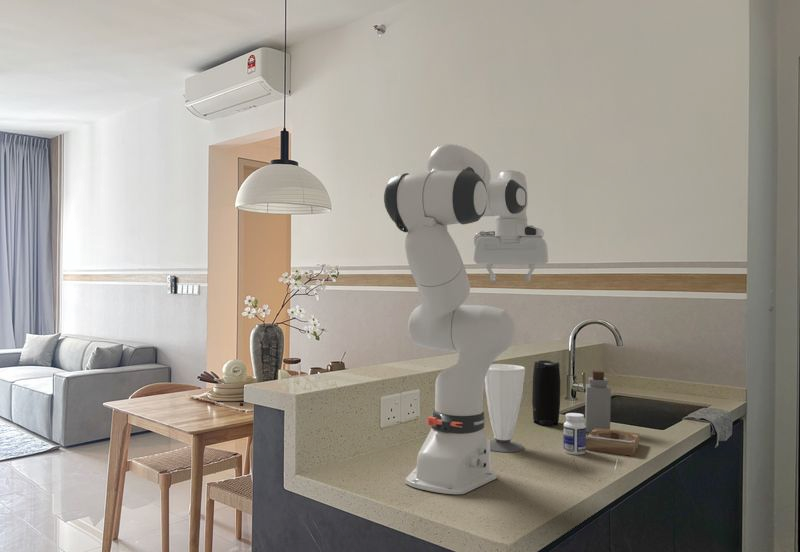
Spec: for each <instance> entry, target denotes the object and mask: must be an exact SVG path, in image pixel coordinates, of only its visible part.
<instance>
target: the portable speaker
mask: <svg viewBox="0 0 800 552" xmlns="http://www.w3.org/2000/svg"><path fill="white" fill-rule="evenodd" d="M531 393H532V394H531V395H532V399H531V403H532V404H531V405H532V406H531V407H532V419H533V423H538V424H539V425H540V426H545V427H546V426H547V427H552V426H553V425H554V424H557V425H559V420H560V409H561V371H560V362H558V361H557V362H553V361H551V360H545V359H544V360H538V361H534V365H533V373H532V392H531Z"/></svg>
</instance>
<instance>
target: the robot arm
mask: <svg viewBox="0 0 800 552" xmlns="http://www.w3.org/2000/svg"><path fill="white" fill-rule="evenodd" d="M426 166H427V167H426V169H427V170H426V171H422V172H414V173H407V172H406V173H402V174H397V175H395V176H393V177H391V178H390V179H389V181H388V182H387V184H386V186H385V188H384V194H383V202H384V207H385V210H386V212H387V213H388V214H387V215H389V218H390V219H391V221H392V222H394V223H395V226H396V228H398V230H399V231H401V232H403V233H406V234H407V235H406V237H405V241H404V249H405V253H406V254H405V255H406V259H407V262H408V266H409V269H410V272H411V275H412V277H413V278H412V279H413V280H414V282H415V283H414V284H415V285H416V287H417V291H418V293H419V296H420V299H421V301H420V305H417V306H416V307H415V308H414V309H413V310H412V311H411V313H410V315H409V317H408V321H407V332H408V335H409V338H410V340H411V341H412V342H413V344H414V345H416V346H418V347H419V346H420V347H423V348H426V349H429V350H433V351H434V350H435V351H446V352H447V351H448V352H458V360H457V362H456V364H453V365H451V366H449V367H447V368H445V369H444V370H443V369H442V371H441V372H440V373H439V374H438V375H437V377H436V379H435V388H434V389H435V391H434V392H435V396H434V404H435V405H434V409H433V412H432V415H431V416H428V417H427V421H426V424H427V426H430V427H431V428H430V431H429V433H428V435H427V436H426V438H425V440H424V442H423V444H422V445H421V448H420V450H419V452H418V453H417V458H416V467H414V469H413V470H412V471H411V472H410V473H409V474H408V475H407V476H406V478H405V481H404V482H405V484H406V485H407V486H410V487H412V488H416V489H419V490H422V491H423V490H424V491H428V492H432V493H433V492H434V493H439V494H446V495H464V494H466V493H469V492H470V491H473V490H475V489H477V488H480V487H481V486H483V485H486V484H488V483H489V482H492V481H494V480H496V479H497V478H498V476H497V475H498V473H497V472H496V471H493V470H492V462H491V461H492V460H491V458H492V457H491V451H490V441H491V440H490V439H489V438H488V435H486V434H485V431H484V428H485V421H486V418H485V411H483V408H484V407H483V406H484V405H483V403H484V400H483V399H484V390H485V377H486V374H487V371H488V369H489V367H490V365H491V364H493V362H494V361H495V360H496V359H497V358H498V357H499V356H500V355H501V354H503V353H505V352H506V351H507V350H508V349H509V348H510V347H511V345H512V343H513V342H514V340H515V337H516V336H515V335H516V324H515V321H514V318H513V316H512V315H511V314H510V312H509V311H508V310H506V309H503V308H499V307H496V306H495V307H494V306H491V305H484V304H483V305H482V304H464V303H465V302H466V301H467V298H468V297H469V294H470V291H471V282H470V280H469V277H468V274H467V270H466V268H465V265H464V262H463V259H462V256H461V253H460V251H459V249H458V247H457V244H456V243H455V240H454V239H453V237H452V236H451V234H450V233H449V231H448V226H450V225H456V224H460V225H469V224H473V223H477V222H478V221H480V219H481V218H482V217H495V218H494V230H493V231H492V230H491V231H490V230H489V231H483V230H482V231H479V232H478V233H475V235H474V238H473V244H474V246H475V247H474V252H473V253H474V254H473V261H474V263H475V264H478V265H486V266H485V267H486V270H487V272H488V274H490V275H489V281H494V282H495V281H497V274H496V273H495V274H494V272H493V270H492V269H493V267H494V265H528V269H529V270H528V272H527V274H523V276H524V277H523V278H524V279H523V281H524V282H531V277H532V276H531V275H532V273H533V272H534V271H535V268H536V267H535V266H536V265H546V264H547V263H548V261H549V251H548V245H547V242H546V240H545V239H544V234H545V232H544V230H543V229H541V228H539V227H536V226H534V225H529V224H528V216H527V207H528V202H529V201H528V195H529V194H528V185H527V178H526V175H525V174H524V173H522V172H520V171H517V170H505V171H501V172H500V173H499V174H498V176H497V179H491V178H492V177H491V174H492V173H491V169H490V167H489V164H488V163H487V162H486V160H485V159H484V158H483V157H482V156H480V155H479V154H478V153H476V152H475V151H472V150H470V149H469V148H467V147H465V146H462V145H458V144H454V143H445V144H442V145H439V146H438V147H436V148H434V150H433V151H432V152H431V154H430V156H429V157H428V159H427V164H426Z"/></svg>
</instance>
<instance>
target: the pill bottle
mask: <svg viewBox="0 0 800 552" xmlns="http://www.w3.org/2000/svg"><path fill="white" fill-rule="evenodd" d="M565 420H566V421H565V422H564V423H563V436H562V438H563V444H562V445H563V446H562V448H563V452H564V453H566V454H569V455H573V456H574V455H576V456H577V455H580V456H581V455H585V454H586V451H587V450H586V437H587V432H586V425H585V422H584V421H585V414H583V413H578V412H568V413H565Z"/></svg>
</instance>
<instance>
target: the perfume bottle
mask: <svg viewBox="0 0 800 552" xmlns="http://www.w3.org/2000/svg"><path fill="white" fill-rule="evenodd" d="M591 373H592V376H588V377H587V378H588V383H585V395H584V397H585V398H584V399H585V400H584V401H585V403H584V404H585V405H584V406H585V408H584V424H585V425H586V433H587V434H588V433H589V434H590V433H591V432H592V430H593V429H594V428H600V429H608V430H611V404H612V403H611V400H612V399H611V398H612V395H611V394H612V389H611V387H610V385H608V383H609V380H608V378H607V377H605V371H604V370H591Z"/></svg>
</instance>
